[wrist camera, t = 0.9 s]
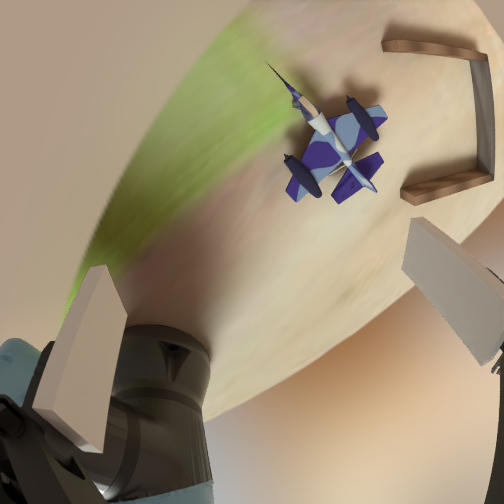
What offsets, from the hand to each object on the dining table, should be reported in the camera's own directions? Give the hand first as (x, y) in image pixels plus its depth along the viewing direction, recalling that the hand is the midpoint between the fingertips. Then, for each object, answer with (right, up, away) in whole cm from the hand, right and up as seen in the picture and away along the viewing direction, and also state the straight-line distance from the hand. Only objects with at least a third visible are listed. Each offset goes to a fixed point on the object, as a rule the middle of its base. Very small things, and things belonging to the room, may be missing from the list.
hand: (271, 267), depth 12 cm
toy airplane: (+6, +13, +16) cm, 21 cm away
